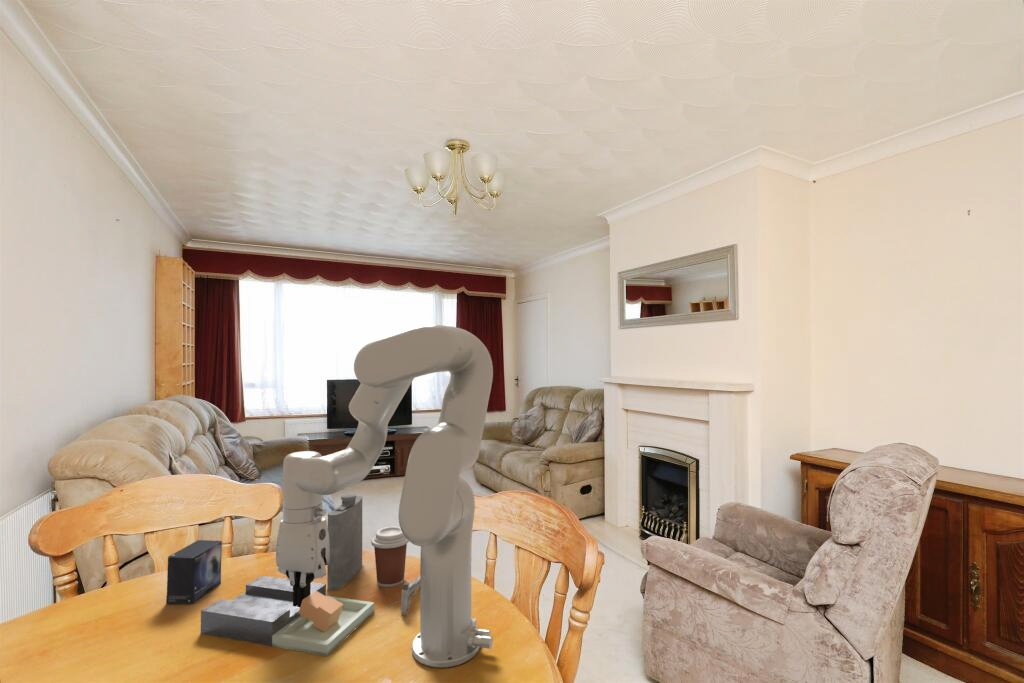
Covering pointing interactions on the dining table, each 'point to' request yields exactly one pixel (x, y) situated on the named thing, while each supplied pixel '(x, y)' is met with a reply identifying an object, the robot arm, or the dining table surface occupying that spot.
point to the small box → (193, 571)
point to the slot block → (254, 611)
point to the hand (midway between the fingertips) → (301, 603)
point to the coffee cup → (390, 556)
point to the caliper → (408, 594)
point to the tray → (316, 641)
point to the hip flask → (345, 541)
